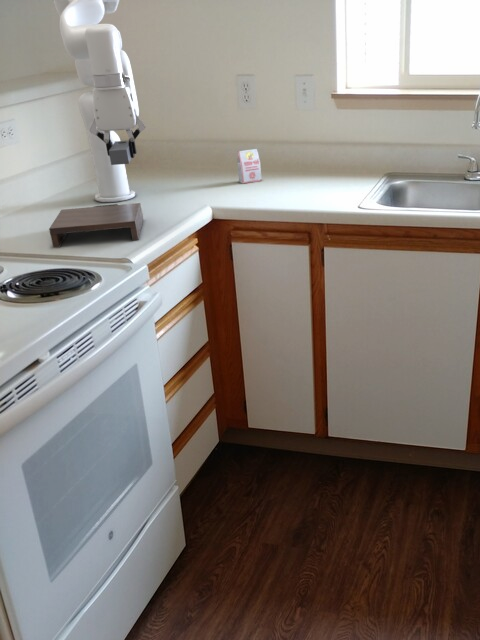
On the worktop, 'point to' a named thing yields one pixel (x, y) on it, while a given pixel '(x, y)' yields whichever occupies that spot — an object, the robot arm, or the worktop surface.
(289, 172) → the worktop surface
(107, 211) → the shelf
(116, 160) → the grey long block
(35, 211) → the worktop surface
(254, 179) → the white paper food bag
